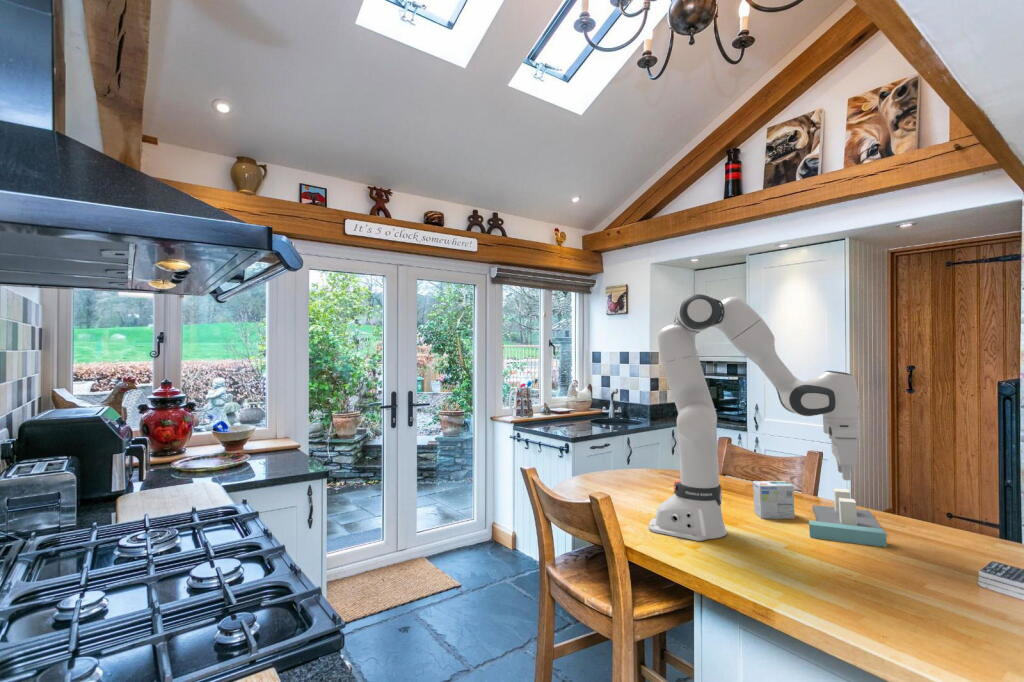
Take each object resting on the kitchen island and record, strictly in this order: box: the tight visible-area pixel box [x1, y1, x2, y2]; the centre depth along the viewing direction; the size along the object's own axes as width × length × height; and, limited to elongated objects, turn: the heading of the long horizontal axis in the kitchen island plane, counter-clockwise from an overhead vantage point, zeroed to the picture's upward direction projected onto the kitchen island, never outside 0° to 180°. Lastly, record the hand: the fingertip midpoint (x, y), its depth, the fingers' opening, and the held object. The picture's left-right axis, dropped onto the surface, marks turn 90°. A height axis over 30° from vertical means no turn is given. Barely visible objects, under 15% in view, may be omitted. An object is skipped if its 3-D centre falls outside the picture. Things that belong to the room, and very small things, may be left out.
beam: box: [808, 520, 888, 548], centre depth 142 cm, size 18×4×4 cm, turn 61°
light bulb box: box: [752, 480, 796, 520], centre depth 165 cm, size 11×7×11 cm, turn 84°
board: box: [812, 487, 883, 529], centre depth 158 cm, size 16×22×8 cm
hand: (844, 476), depth 143 cm, fingers open, 8 cm apart
